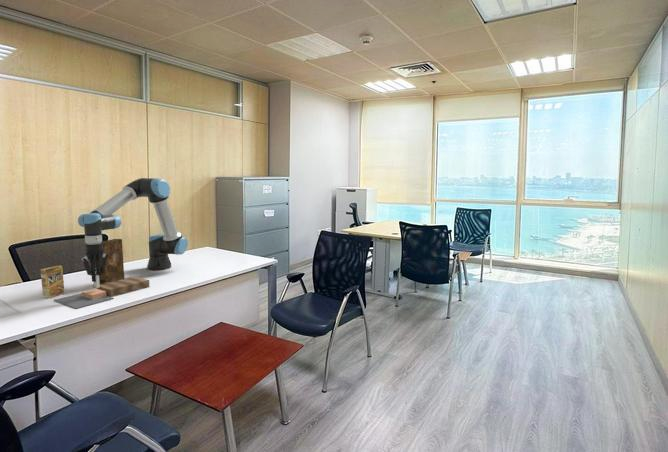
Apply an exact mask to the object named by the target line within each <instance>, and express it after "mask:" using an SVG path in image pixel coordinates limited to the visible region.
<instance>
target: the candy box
mask: <svg viewBox="0 0 668 452" xmlns="http://www.w3.org/2000/svg"><path fill="white" fill-rule="evenodd" d="M63 271H64V270H63V266H62V265H54V266H50V267H44V268H40V278H41V279H40V281H41V288H42V289H41V291H42V297H43V298H46V299H49V298H53V297H58V296H62V295H65V293H66V292H65V284H64V283H65V282H64V273H63Z"/></svg>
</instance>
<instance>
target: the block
mask: <svg viewBox="0 0 668 452" xmlns="http://www.w3.org/2000/svg"><path fill="white" fill-rule="evenodd" d="M81 293H82V296H83V297H86V298H89V299H92V300H94V299H98V298H101V297H105V296H107V294H106V291H103V290H100V289H96V288H95V287H94V288H91V289H89V290H84V291H81Z"/></svg>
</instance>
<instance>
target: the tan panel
mask: <svg viewBox="0 0 668 452" xmlns="http://www.w3.org/2000/svg"><path fill="white" fill-rule="evenodd" d="M150 287H151V286H150V280H149V279H146V278H142V277H138V276H131V277H127V278H124V279H122V280H118V281H113V282H109V283H105V284H100V287H99V288H96V289H100V290H103V291H106V294H107V296H108V297H112V298H114V297H117V296H121V295H125V294H129V293H132V292H137V291H139V290H144V289H147V288H150Z"/></svg>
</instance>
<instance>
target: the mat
mask: <svg viewBox="0 0 668 452" xmlns="http://www.w3.org/2000/svg"><path fill="white" fill-rule="evenodd" d="M111 300H114V297H109V296H105V297H101V298H98V299H94V300H92V299H89V298H86V297H83V296H82V292H81V293H76V294H73V295H68V296H64V297H59V298H56V299H53V301H54V302H56V303H59V304H61V305H64V306H67V307H70V308H71V309H74V310H78V309H81V308H86V307H89V306H92V305H96V304H101V303H104V302H107V301H111Z"/></svg>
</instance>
